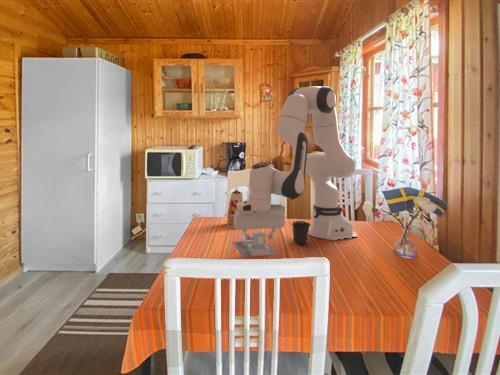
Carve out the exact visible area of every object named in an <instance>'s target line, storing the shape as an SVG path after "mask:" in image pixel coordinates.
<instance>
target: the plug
mask: <svg viewBox="0 0 500 375" xmlns="http://www.w3.org/2000/svg"><path fill="white" fill-rule="evenodd" d="M252 236H253V247H252V248H253V249H265V242H266V234H265V233H264V231H252Z"/></svg>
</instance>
